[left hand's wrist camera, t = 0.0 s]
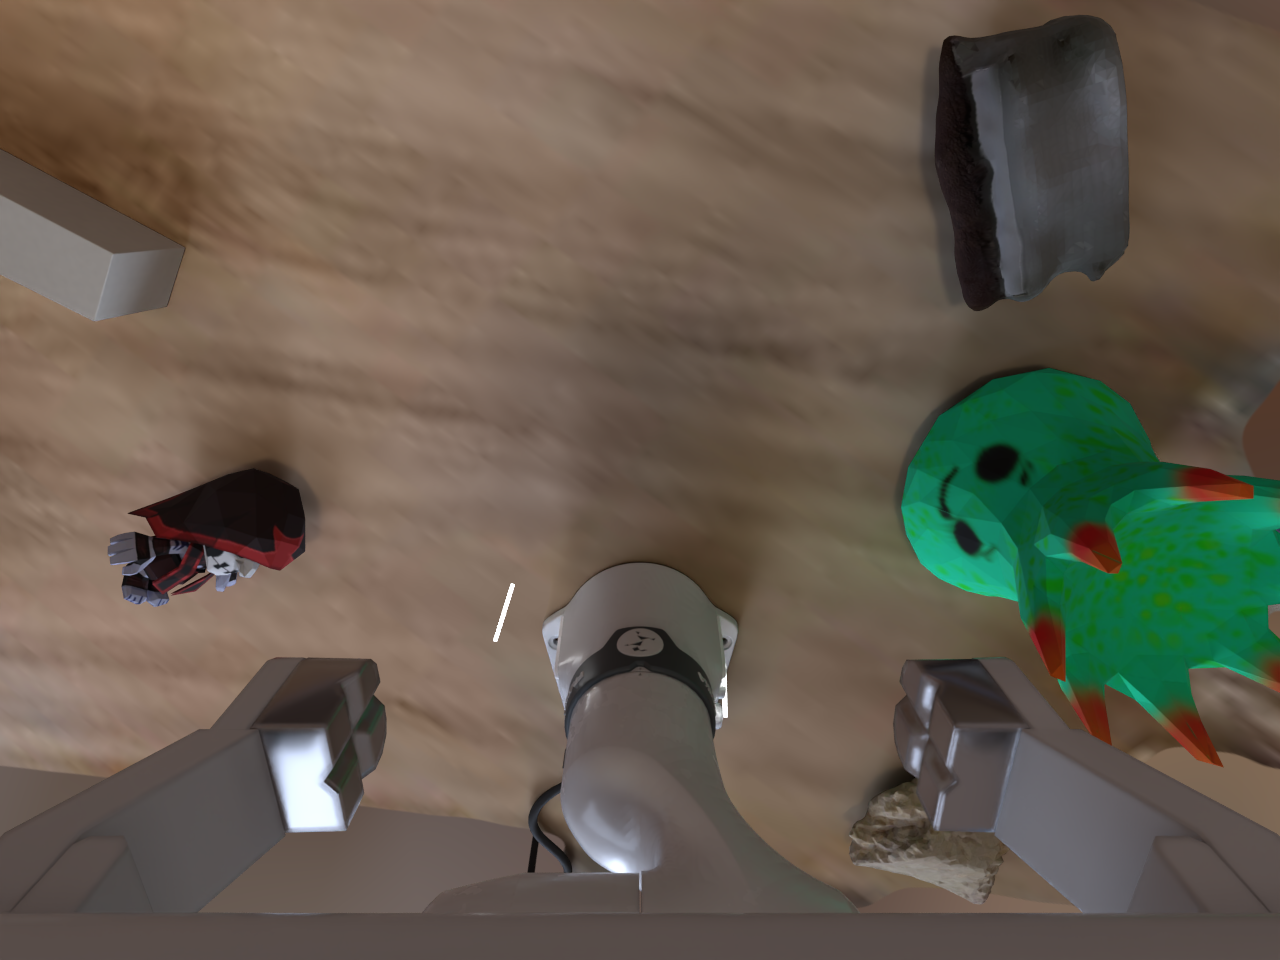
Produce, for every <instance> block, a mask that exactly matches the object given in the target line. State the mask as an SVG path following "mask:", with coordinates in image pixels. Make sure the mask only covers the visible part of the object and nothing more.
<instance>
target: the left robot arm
mask: <svg viewBox="0 0 1280 960" xmlns="http://www.w3.org/2000/svg"><path fill="white" fill-rule="evenodd" d="M513 588H514V584H511V586H510V589H509V592H508V595H507V599H506V602H505V605H504V608H503V612H502V615H501V618H500V621H499V624H498V628H497V631H496V634H495V637H494V641H496V642H497V639H498V636H499V633H500V630H501V627H502V623H503V620H504V617H505V614H506V611H507V607H508V604H509V601H510V598H511V595H512V591H513ZM542 633H543V637H544V641H545V644H546V648H547V651H548V654H549V658H550V661H551V664H552V668H553V671H554V676H555V678H556V681H557V685H558V688H559V692H560V695H561V698H562V702H563V705H564V709H565V712H564V715H565V732H566V737H567V747H566V749H565V755H564V762H563V777H562V783H560V784H558V785H556V786H554V787H552V788H551V789H549V790H548V791H546V792H545V793H544V794H543V795H542V796H541V797H540V798H539V799H538V800H537V801H536V802H535V804H534V805H533V807H532V809H531V810H530V814H529V827H530V831H531V833H532V834H533V838H532V844H531V851H530V857H529V864H528V871H527V873H521V874H516V875H511V876H506V877H501V878H496V879H491V880H486V881H482V882H478V883H474V884H470V885H466V886H462V887H458V888H454V889H450V890H446V891H443V892H442V893H440V894H439V895H438V896H437V897H436V898H435V899H434V900H433V901H432V902H431V903H430V904H429V905H428V906H427V907H426V909H425V910H424V911H423V912H422V913H197V912H198V911H200V910H201V909H202V908H203V907H204V906H205V905H206V904H208V903H209V902H210V901H211V900H212V899H213V898H215V897H216V896H217V895H218V894H219V893H220V892H221V891H223V890H224V889H225V888H226V887H227V886H228V885H229V884H231V883H232V882H233V881H234V880H235V879H236V878H237V877H239V876H240V875H241V874H242V873H243V872H244V871H246V870H247V869H248V868H249V867H250V866H251V865H252V864H254V863H255V862H256V861H257V860H258V859H259V858H260V857H262V856H263V855H264V854H265V853H266V852H267V851H269V850H270V849H271V848H272V847H273V846H274V845H275V844H276V843H278V842H279V841H280V840H281V839H282V838H283V837H285V832H319V831H346V830H347V828H348V826H349V824H350V822H351V819H352V817H353V815H354V813H355V811H356V809H357V807H358V805H359V803H360V801H361V799H362V796H363V794H364V789H363V784H362V779H363V778H364V777H366V776H367V775H368V774H370V773H371V772H372V771H374V770H375V769H376V767H377V765H378V762H379V760H380V758H381V756H382V753H383V748H384V743H385V739H386V720H387V719H386V712H385V706H384V705H383V704H382V703H381V702H380V701H379V700H378V699H377V698H376V697H375V696H374V693H375V691H376V689H377V687H378V685H379V683H380V677H379V673H378V668H377V664H376V663H375V662H374V661H373V660H372V659H351V658H282V657H276V658H273V659H271V660H268V661H267V662H266V663H265V664H264V665H263V666H262V667H261V669H260V670H259V671H258V672H257V673H256V675H255V676H254V677H253V678H252V679H251V681H250V682H249V683H248V684H247V685H246V687H245V688H244V689H243V690H242V691H241V693H240V694H239V695H238V696H237V697H236V698H235V700H234V701H233V702H232V703H231V704H230V706H229V707H228V708H227V709H226V710H225V712H224V713H223V714H222V715H221V716H220V718H219V719H218V720H217V721H216V722H215V724H214V725H213V726H212V727H211V728H210V729H199V730H197V731H195V732H193V733H191V734H189V735H188V736H186V737H184V738H182V739H180V740H178V741H176V742H174V743H173V744H171V745H169V746H167V747H165V748H163V749H161V750H159V751H157V752H156V753H154V754H152V755H150V756H148V757H146V758H144V759H142V760H141V761H139V762H137V763H135V764H133V765H131V766H129V767H127V768H125V769H124V770H122V771H120V772H118V773H116V774H114V775H112V776H110V777H109V778H107V779H105V780H103V781H101V782H99V783H97V784H95V785H93V786H92V787H90V788H88V789H86V790H84V791H82V792H80V793H78V794H77V795H75V796H73V797H71V798H69V799H67V800H65V801H63V802H62V803H60V804H58V805H56V806H54V807H52V808H50V809H48V810H46V811H45V812H43V813H41V814H39V815H37V816H35V817H33V818H31V819H29V820H28V821H26V822H24V823H22V824H20V825H18V826H16V827H14V828H13V829H11V830H9V831H7V832H5V833H4V834H3V835H2V836H1V837H0V960H1280V836H1279V835H1278V834H1276V833H1274V832H1273V831H1271V830H1269V829H1267V828H1265V827H1263V826H1261V825H1259V824H1258V823H1256V822H1254V821H1252V820H1250V819H1248V818H1246V817H1244V816H1243V815H1241V814H1239V813H1237V812H1235V811H1233V810H1231V809H1229V808H1228V807H1226V806H1224V805H1222V804H1220V803H1218V802H1216V801H1214V800H1212V799H1211V798H1209V797H1207V796H1205V795H1203V794H1201V793H1199V792H1197V791H1196V790H1194V789H1192V788H1190V787H1188V786H1186V785H1184V784H1182V783H1181V782H1179V781H1177V780H1175V779H1173V778H1171V777H1169V776H1167V775H1166V774H1164V773H1162V772H1160V771H1158V770H1156V769H1154V768H1152V767H1151V766H1149V765H1147V764H1145V763H1143V762H1141V761H1139V760H1137V759H1136V758H1134V757H1132V756H1130V755H1128V754H1126V753H1124V752H1122V751H1121V750H1119V749H1117V748H1115V747H1113V746H1111V745H1109V744H1107V743H1106V742H1104V741H1102V740H1100V739H1098V738H1096V737H1094V736H1092V735H1091V734H1089V733H1087V732H1085V731H1083V730H1081V729H1070V728H1069V727H1068V726H1067V725H1066V724H1065V722H1064V721H1063V720H1062V719H1061V718H1060V716H1059V715H1058V714H1057V713H1056V712H1055V711H1054V709H1053V708H1052V707H1051V706H1050V705H1049V703H1048V702H1047V701H1046V700H1045V699H1044V697H1043V696H1042V695H1041V694H1040V693H1039V691H1038V690H1037V689H1036V688H1035V687H1034V685H1033V684H1032V683H1031V682H1030V681H1029V679H1028V678H1027V677H1026V676H1025V675H1024V673H1023V672H1022V671H1021V670H1020V669H1019V668H1018V666H1017V665H1016V664H1015V663H1014V662H1013V661H1012V660H1010V659H1008V658H1006V657H990V658H972V659H918V660H906V661H905V663H904V665H903V667H902V671H901V677H900V683H901V685H902V687H903V689H904V691H905V693H906V696H905V697H904V698H903V699H902V700H901V701H900V702H899V703H898V704H897V705H896V706H895V714H894V721H893V727H894V739H895V745H896V748H897V752H898V756H899V758H900V760H901V762H902V765H903V767H904V769H905V770H906V771H908V772H909V773H910V774H912V775H913V776H914V777H916V778H917V779H918V784H917V789H916V794H917V797H918V799H919V801H920V803H921V805H922V807H923V809H924V811H925V813H926V815H927V817H928V819H929V821H930V823H931V826H932V828H933V830H934V831H960V832H995V836H996V837H997V838H998V839H999V840H1000V841H1001V842H1003V843H1004V844H1005V845H1006V846H1007V847H1008V848H1010V849H1011V850H1012V851H1013V852H1014V853H1015V854H1016V855H1018V856H1019V857H1020V858H1021V859H1022V860H1023V861H1024V862H1026V863H1027V864H1028V865H1029V866H1030V867H1031V868H1032V869H1034V870H1035V871H1036V872H1037V873H1038V874H1039V875H1040V876H1042V877H1043V878H1044V879H1045V880H1046V881H1047V882H1048V883H1050V884H1051V885H1052V886H1053V887H1054V888H1055V889H1057V890H1058V891H1059V892H1060V893H1061V894H1062V895H1063V896H1065V897H1066V898H1067V899H1068V900H1069V901H1070V902H1071V903H1073V904H1074V905H1075V906H1076V907H1077V908H1078V909H1079V910H1081V911H1082V912H1083V913H860V912H859V911H858V909H857V908H856V907H855V906H854V905H853V903H852V902H851V901H850V900H849V899H848V898H847V897H846V896H845V895H844V894H843V893H842V892H840V891H839V890H838V889H836V888H834V887H832V886H830V885H828V884H826V883H824V882H822V881H820V880H818V879H816V878H814V877H812V876H811V875H809V874H807V873H806V872H804V871H802V870H801V869H799V868H798V867H796V866H795V865H793V864H792V863H790V862H789V861H788V860H786V859H785V858H784V857H782V856H781V855H780V854H779V853H777V852H776V851H775V850H774V849H773V848H772V847H770V846H769V845H768V844H767V843H766V842H765V841H764V840H763V839H762V838H761V837H760V836H759V835H758V834H757V833H756V832H755V831H754V830H753V829H752V828H751V827H750V826H749V824H748V823H747V822H746V821H745V820H744V819H743V817H742V816H741V815H740V814H739V812H738V811H737V809H736V808H735V806H734V805H733V803H732V802H731V800H730V798H729V796H728V794H727V793H726V790H725V788H724V785H723V781H722V778H721V774H720V770H719V766H718V762H717V757H716V752H715V747H714V742H713V739H714V735H715V729H720V728H721V726H722V721H723V715H724V717H727V685H726V673H727V669H728V666H729V663H730V659H731V656H732V652H733V649H734V646H735V642H736V639H737V635H738V624H737V622H736V620H735V619H734V618H733V617H731V616H730V615H728V614H727V613H725V612H723V611H722V610H720V609H718V608H716V607H715V606H714V605H713V604H712V603H711V602H710V601H709V599H708V598H707V596H706V595H705V594H704V592H703V591H702V590H701V589H700V587H699V586H698V585H697V584H696V583H694V582H693V581H692V580H691V579H690V578H688V577H687V576H685V575H684V574H682V573H680V572H678V571H676V570H674V569H672V568H669V567H666V566H662V565H658V564H652V563H628V564H622V565H618V566H615V567H612V568H609V569H606V570H604V571H602V572H600V573H598V574H597V575H595V576H594V577H592V578H591V579H590V580H588V581H587V582H586V583H585V584H584V585H583V586H582V587H581V588H580V589H579V590H578V591H577V593H576V594H575V596H574V597H573V598H572V600H571V601H570V602H569V604H568V605H567V606H566V607H564V608H562V609H561V610H559V611H557V612H555V613H554V614H552V615H551V616H549V617H548V618H547V619H546V620H545V621H544V623H543V630H542ZM554 638H558V641H556V640H555V639H554ZM722 638H726V640H724V641H723V639H722ZM719 699H723V706H722V705H721V704H719V703H718V700H719ZM560 792H561V806H562V811H563V814H564V818H565V820H566V823H567V825H568V827H569V829H570V830H571V832H572V834H573V835H574V837H575V839H576V840H577V841H578V843H579V844H580V846H581V847H582V848H583V849H584V851H585V852H586V853H587V854H588V855H589V856H590V857H591V858H592V859H593V860H594V861H595V862H597V863H598V864H599V865H601V866H603V867H604V868H606V869H607V870H609V871H611V872H612V873H572V866H571V863H570V861H569V859H568V857H567V856H566V855H565V853H564V852H563V851H562V850H561V849H560V848H559V847H558V846H556V845H555V844H554V843H553V842H552V841H551V840H550V839H548V838H547V837H546V836H545V835H544V834H543V832H542V831H541V830H540V828H539V826H538V824H537V817H538V813H539V812H540V810H541V808H542V807H543V806H544V805H545V804H546V803H547V802H548V801H549V800H550V799H552V798H553V797H554V796H556V795H557V794H559V793H560ZM539 843H540V844H541V845H542V846H544V847H545V848H546V849H547V850H548V851H549V852H550V853H552V854H553V855H554V856H555V857H556V858H557V859H558V860H559V862H560V863H561V864H562V866H563V869H564V873H535V867H536V859H537V852H538V845H539ZM639 890H641V913H639Z"/></svg>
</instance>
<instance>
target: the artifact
mask: <svg viewBox="0 0 1280 960" xmlns="http://www.w3.org/2000/svg"><path fill="white" fill-rule="evenodd" d="M917 784H918V779H917V778H914V779H913V780H912V781H911V782H906V783H902V784H901V785H899V786H897V787H895V788H893V789H889V790H886V791H884V792H882V793H880V794H879V795H877V796H875V797H874V798H873V799H872V800H871V801H870V802H869V805H868V807H869V808H868V811H867V813H866V816H865V818H863V819H862V820H860V821H857V822H856V823H855V824H854V826H853V828H852V829H851V831H850V834H849V836H850V837H851V838H853V841H852V843H851V845H850V853H849V854H850V857H851V860H852V862H853V864H855V865H859V866H867V867H872V868H876V869H882V870H886V871H891V872H893V873H899V874H904V875H909V876H912V877H915V878H917V879H920V880H923V881H926V882H928V883H933V884H935V885H937V886H940V887H942V888H945V889H947V890H949V891H951V892H953V893H955V894H957V895H959V896H961V897H963V898H965V899H967V900H968V901H970V902H972V903H974V904H983V903H984V902H985V901H986V900H987V898H988V896H989V894H990V892H991V888H992V886H993V885H994V881H995V874H997V872H998V869H999V866H1000V864H1001V863H1003V862H1004V861H1003V859H1002V857H1001V856H1002V855H1003V854H1006V853H1007V852H1008V851H1009V850H1010V848H1008V847H1007V846H1006V845H1005V844H1004V843H1003V842H1001V841H1000V840H999V839H998V838H997V837H996V836H995V832H960V831H934V830H933V828H932V826H931V823H930V821H929V819H928V817H927V815H926V813H925V811H924V809H923V807H922V805H921V803H920V801H919V799H918V797H917V794H916V789H917Z"/></svg>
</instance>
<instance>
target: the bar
mask: <svg viewBox="0 0 1280 960" xmlns="http://www.w3.org/2000/svg"><path fill="white" fill-rule="evenodd" d="M184 250H185V247H183V246H181V245H180V244H178V243H176V242H174V241H172V240H170V239H168V238H166V237H165V236H163V235H161V234H159V233H157V232H155V231H153V230H151V229H150V228H148V227H146V226H144V225H142V224H140V223H138V222H136V221H135V220H133V219H131V218H129V217H127V216H125V215H123V214H121V213H120V212H118V211H116V210H114V209H112V208H110V207H108V206H106V205H105V204H103V203H101V202H99V201H97V200H95V199H93V198H91V197H90V196H88V195H86V194H84V193H82V192H80V191H78V190H76V189H75V188H73V187H71V186H69V185H67V184H65V183H63V182H61V181H60V180H58V179H56V178H54V177H52V176H50V175H48V174H46V173H45V172H43V171H41V170H39V169H37V168H35V167H33V166H31V165H30V164H28V163H26V162H24V161H22V160H20V159H18V158H16V157H15V156H13V155H11V154H9V153H7V152H5V151H3V150H1V149H0V274H1V275H3V276H5V277H7V278H9V279H11V280H13V281H15V282H17V283H19V284H21V285H23V286H25V287H27V288H29V289H31V290H33V291H35V292H37V293H39V294H41V295H43V296H45V297H47V298H49V299H51V300H53V301H55V302H57V303H59V304H61V305H63V306H65V307H67V308H69V309H71V310H73V311H75V312H77V313H79V314H81V315H82V316H84V317H86V318H88V319H90V320H92V321H99V320H104V319H108V318H113V317H118V316H123V315H128V314H133V313H138V312H142V311H147V310H152V309H157V308H162V307H166V306H167V304H168V301H169V298H170V294H171V291H172V288H173V285H174V282H175V279H176V275H177V272H178V269H179V266H180V263H181V259H182V256H183V253H184Z"/></svg>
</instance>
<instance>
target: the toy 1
mask: <svg viewBox="0 0 1280 960" xmlns="http://www.w3.org/2000/svg"><path fill="white" fill-rule="evenodd" d="M128 514H132V515H137V516H141V517H146V519H147V521H148V523H149V525H150V527H151V528H152V530H153V532H154V534H155V536H152V537H150V536H147V535H144V534H140V533H137V532H129V533H124V534H120V535H117V536H115V537H112V538H110V544H111V545H110V546H108V555H109V556H112V555H114V556H112V557H110V563H111V565H117V564H125V563H128V564H127V566H126V567H123V570H122V575H124V578H123V583H122V591H123V596H124V599H126V600H128V601H130V602H133V603H135V604H141V603H143V602H145V601H146V600H147V601H148V602H149V603H150V604H151V605H153V606H160V605H163V604H166V603H167V602H168V601H169V597H168V594H167V592H168V591H169V590H171V589H172V588H174V587H175V586H177V585H178V584H184V583H186V582H187V581H188V580H190V579H191V578H193V577H194V576H195V575H196V574H198V573H205V570H206V568H207V571H209V572H210V573H209V574H208V575H206V576H204V577H202V578H200V579H198V580H196V581H194V582H192V583H190V584H188V585H186V586H185V587H183V588H181V589H179V590H177V591H175V592H173V593H175V594H173V593H171V594H173V595H177V594H183V593H188V592H194V591H196V590H197V589H199V588H200V587H201V586H202V585H203V584H204V583H205V582H207V581H208V580H209V579H210V578H211V577H212V576H214V575H216V589H217V591H224V589H225V587H226V586H232V585H234V584H235V583H236V578H237V572H239V576H242V577H247V578H250V577H251V576H252V575H253V574H254V572H255V571H256V570H257V568H258V566H259V564H261V565H263V566H266V567H268V568H271V569H275V570H281V569H283V568H284V567H285V566H287V565H288V564H289V563H290V562H292V561H293V560H294V559H296V558H297V557H298V556H300V555H301V554H302V553H304V552H305V515H304V510H303V506H302V502H301V497H300V493H299V489H297V488H296V487H294V486H292V485H291V484H289V483H287V482H285V481H283V480H281V479H279V478H277V477H275V476H273V475H271V474H269V473H266V472H263V471H260V470H257V469H250V470H245V471H241V472H237V473H232V474H228V475H225V476H223V477H221V478H218V479H216V480H213V481H211V482H209V483H206V484H204V485H201V486H199V487H196V488H193V489H191V490H188V491H186V492H183V493H181V494H178V495H176V496H173V497H171V498H168V499H165V500H162V501H160V502H157V503H154V504H151V505H149V506H146V507H143V508H141V509H138V510H135V511H132V512H130V513H128Z"/></svg>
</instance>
